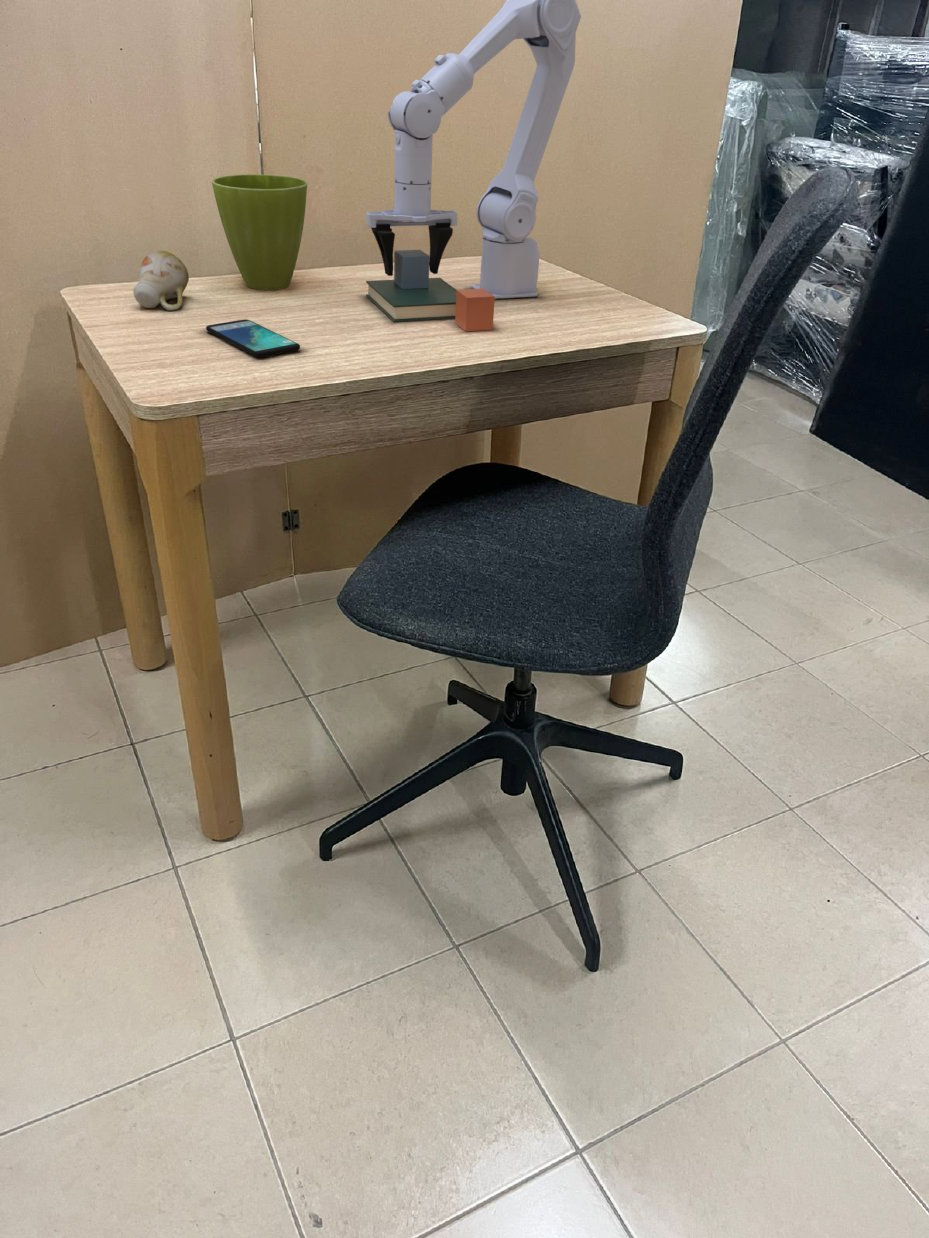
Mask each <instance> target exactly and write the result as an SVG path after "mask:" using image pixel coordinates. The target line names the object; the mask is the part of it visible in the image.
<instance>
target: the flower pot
mask: <svg viewBox="0 0 929 1238" xmlns="http://www.w3.org/2000/svg"><path fill="white" fill-rule="evenodd" d="M211 185H212V190H213V193H214V199H215V202H216V207H217V210H218V215H219V217H220V222H221V225H222V227H223V231H224V234H225V237H226V241H227V243H228V246H229V248H230V251H231V255H232V256H233V259H234V262H235V264H236V266H237V268H238V272H239V273H240V275H241V278H242V281H243V282H244V285H245V286H246V287H248V288H250V289H253V290H258V291H259V290H260V291H276V290H280V289H285V288H288V287H289V286H290V285H291V282H292V278H293V276H294V272H295V269H296V266H297V261H298V256H299V252H300V248H301V242H302V237H303V231H304V224H305V216H306V205H307V191H308V182H307V181H306V180H305V179H301V178H298V177H293V176H286V175H285V176H284V175H274V174H257V173H256V174H252V173H251V174H250V173H249V174H230V175H223V176H222V175H221V176H218V177H215V178H213V179H212V180H211Z"/></svg>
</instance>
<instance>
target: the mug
mask: <svg viewBox="0 0 929 1238" xmlns="http://www.w3.org/2000/svg"><path fill="white" fill-rule="evenodd" d="M189 277H190V275H189V271H188V268H187V266H186V264H184V262H183V261H182V260H181V259H180V258H179V257H178V256H177V255H175V254H174V253H172V252H169V251H167V250H154V251H151V252H150V253H148V254H147V255H146V256H145V257H144V258H143V260H142V262H141V264H140V269H139V281H138V282H137V284H136V285H135V286H134V288H133V291H132V292H133V297H134V299H135V300H136V302H137V303H138V304H139V305H140V306H141V307H144V308H146V309H154V308H157V306H158V305H159V304H160V305H161V307H162V308H163V309H164V310H166V311H176V310H179V309H180V308H181V307H182V305H183V293H184V291H185V290H186V288H187V286H188V284H189V280H190V279H189ZM175 298H177V303H175V304H170V303H168V302H167V301H168V300H172V299H175Z"/></svg>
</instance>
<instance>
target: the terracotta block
mask: <svg viewBox="0 0 929 1238" xmlns="http://www.w3.org/2000/svg"><path fill="white" fill-rule="evenodd" d="M495 300H496V299H495V296H494V295H492V294H491V293H489V292H488V291H486V290H485V289H473V288H467V289H456V313H455V319H454V324H456V325H457V326H458V327H459V328H461V330H463V331H464V332H479V331H492V330H493V329H494V316H495V303H496V301H495Z"/></svg>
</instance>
